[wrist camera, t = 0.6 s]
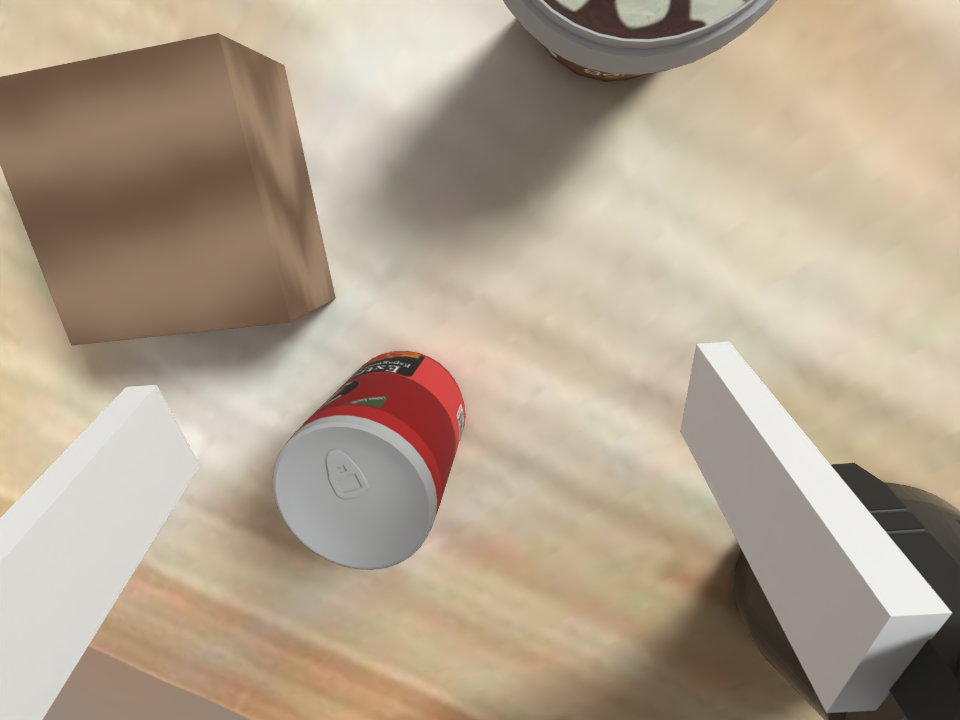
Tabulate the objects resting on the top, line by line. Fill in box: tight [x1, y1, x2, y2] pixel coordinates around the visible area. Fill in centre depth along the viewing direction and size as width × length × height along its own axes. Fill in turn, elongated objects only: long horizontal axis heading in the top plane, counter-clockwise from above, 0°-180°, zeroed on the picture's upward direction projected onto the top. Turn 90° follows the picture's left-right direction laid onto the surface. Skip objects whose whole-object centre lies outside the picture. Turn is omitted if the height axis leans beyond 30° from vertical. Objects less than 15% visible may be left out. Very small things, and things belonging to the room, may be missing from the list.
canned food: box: [273, 351, 465, 570], centre depth 28 cm, size 8×8×11 cm
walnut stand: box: [0, 33, 335, 345], centre depth 28 cm, size 13×13×6 cm
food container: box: [503, 0, 777, 81], centre depth 21 cm, size 12×6×10 cm, turn 109°
